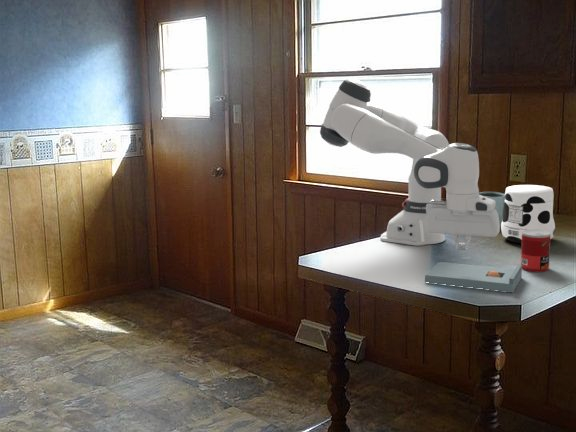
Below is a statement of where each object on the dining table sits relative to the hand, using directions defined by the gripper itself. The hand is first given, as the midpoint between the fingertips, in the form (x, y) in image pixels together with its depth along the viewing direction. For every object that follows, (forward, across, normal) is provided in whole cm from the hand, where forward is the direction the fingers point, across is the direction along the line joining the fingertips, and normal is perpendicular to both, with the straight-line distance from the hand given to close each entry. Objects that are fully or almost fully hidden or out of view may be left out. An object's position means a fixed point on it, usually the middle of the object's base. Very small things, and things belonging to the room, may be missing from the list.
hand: (461, 249), depth 195 cm
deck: (+9, +4, 0) cm, 9 cm away
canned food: (+9, +18, +17) cm, 26 cm away
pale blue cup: (+10, -5, +68) cm, 68 cm away
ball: (+7, +9, -1) cm, 11 cm away
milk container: (+10, +11, +49) cm, 52 cm away
